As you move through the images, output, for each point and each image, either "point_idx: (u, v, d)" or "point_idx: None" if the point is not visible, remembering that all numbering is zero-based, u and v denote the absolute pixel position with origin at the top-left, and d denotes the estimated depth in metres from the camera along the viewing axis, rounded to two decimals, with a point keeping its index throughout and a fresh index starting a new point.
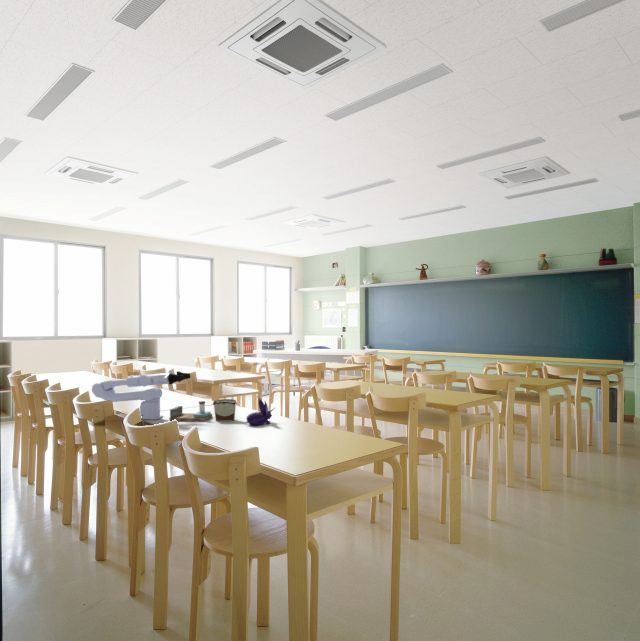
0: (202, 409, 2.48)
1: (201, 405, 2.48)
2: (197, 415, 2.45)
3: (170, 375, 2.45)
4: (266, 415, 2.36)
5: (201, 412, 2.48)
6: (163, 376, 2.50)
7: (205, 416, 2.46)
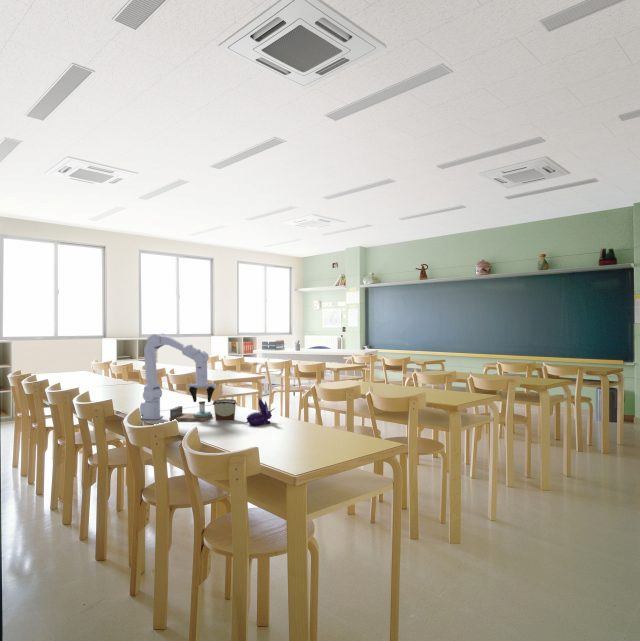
0: (202, 409, 2.48)
1: (201, 405, 2.48)
2: (197, 415, 2.45)
3: None
4: (266, 415, 2.36)
5: (201, 412, 2.48)
6: None
7: (205, 416, 2.46)
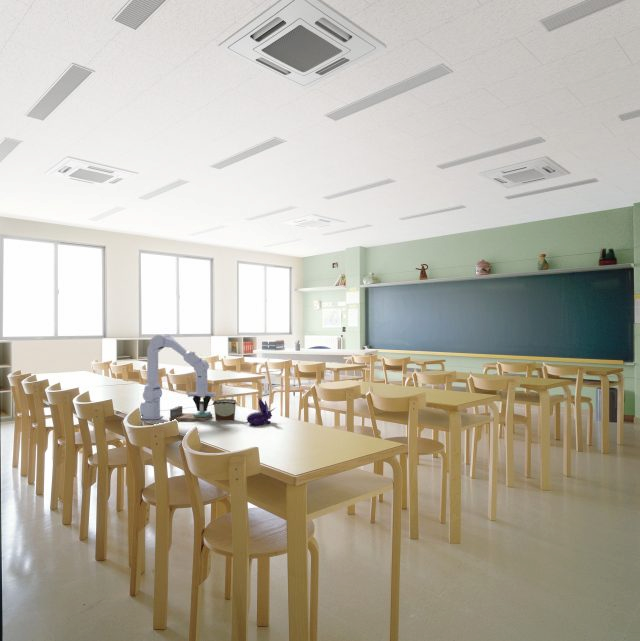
0: (202, 409, 2.48)
1: (201, 405, 2.48)
2: (197, 415, 2.45)
3: (210, 398, 2.50)
4: (266, 415, 2.36)
5: (201, 412, 2.48)
6: None
7: (205, 416, 2.46)
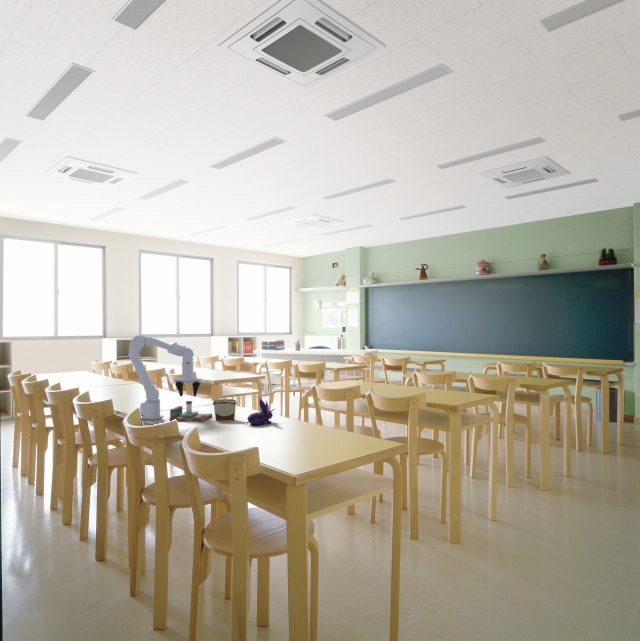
0: (189, 409, 2.49)
1: (188, 405, 2.49)
2: (184, 415, 2.46)
3: (199, 384, 2.60)
4: (267, 415, 2.36)
5: (188, 412, 2.49)
6: None
7: None
